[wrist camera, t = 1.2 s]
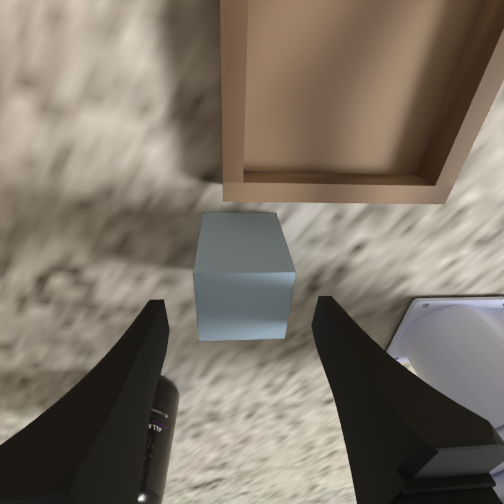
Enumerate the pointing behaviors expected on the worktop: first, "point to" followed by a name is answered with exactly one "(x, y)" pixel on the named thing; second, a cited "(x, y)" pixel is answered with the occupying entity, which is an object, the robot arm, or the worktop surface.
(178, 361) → the worktop surface
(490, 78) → the tray
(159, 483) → the supplement bottle
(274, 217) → the block
